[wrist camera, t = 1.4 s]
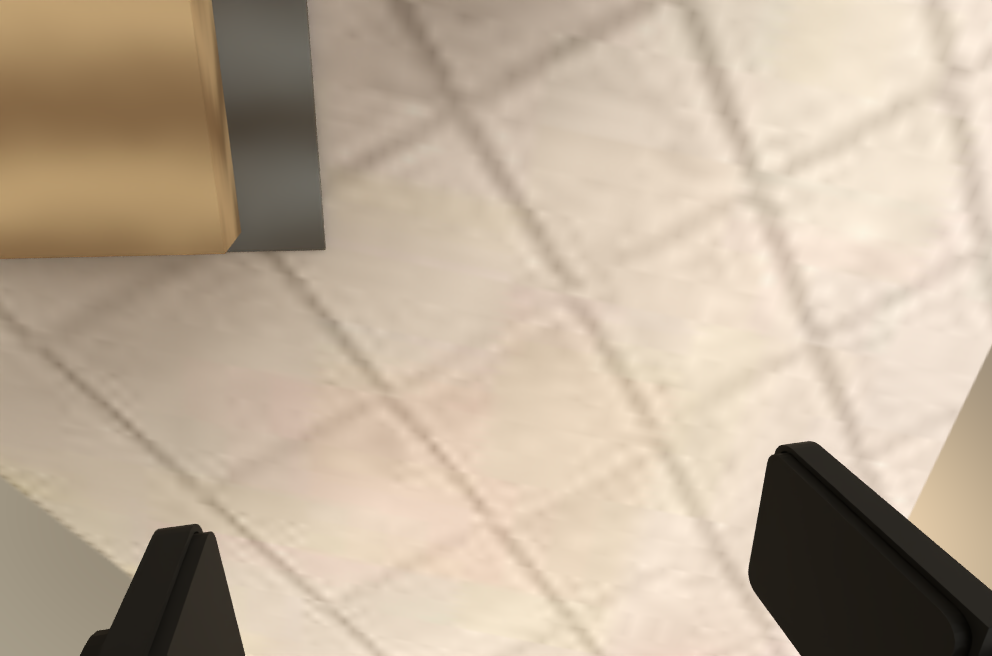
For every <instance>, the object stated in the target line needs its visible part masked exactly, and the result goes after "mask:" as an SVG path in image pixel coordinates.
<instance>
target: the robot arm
mask: <svg viewBox="0 0 992 656" xmlns="http://www.w3.org/2000/svg"><path fill="white" fill-rule="evenodd" d="M748 575H749V580H750V584H751V586H752V588H753V590H754V592H755V593H756V595H757V596H758V597H759V599H760V600H761V602H762V603H763V604H764V606H765V607H766V608H767V610H768V611H769V613H770V614H771V615H772V617H773V618H774V619H775V621H776V622H777V623H778V625H779V626H780V628H781V629H782V630H783V632H784V633H785V634H786V636H787V637H788V639H789V640H790V641H791V643H792V644H793V645H794V647H795V648H796V649H797V651H798V652H799V654H800V655H801V656H992V590H990V589H989V588H988V587H987V586H986V585H984V584H983V583H982V582H981V581H980V580H978V579H977V578H976V577H975V576H974V575H973V574H971V573H970V572H969V571H968V570H966V569H965V568H964V567H963V566H962V565H961V564H960V563H958V562H957V561H956V560H955V559H953V558H952V557H951V556H950V555H949V554H948V553H947V552H945V551H944V550H943V549H942V548H940V547H939V546H938V545H937V544H936V543H935V542H934V541H932V540H931V539H930V538H929V537H927V536H926V535H925V534H924V533H923V532H922V531H921V530H919V529H918V528H917V527H916V526H915V525H913V524H912V523H911V522H910V521H909V520H908V519H906V518H905V517H904V516H903V515H902V514H900V513H899V512H898V511H897V510H896V509H895V508H893V507H892V506H891V505H890V504H889V503H887V502H886V501H885V500H884V499H883V498H881V497H880V496H879V495H878V494H877V493H876V492H874V491H873V490H872V489H871V488H870V487H868V486H867V485H866V484H865V483H864V482H863V481H861V480H860V479H859V478H858V477H857V476H855V475H854V474H853V473H852V472H851V471H850V470H848V469H847V468H846V467H845V466H844V465H842V464H841V463H840V462H839V461H838V460H837V459H835V458H834V457H833V456H832V455H831V454H829V453H828V452H827V451H826V450H825V449H824V448H822V447H821V446H820V445H819V444H817V443H815V442H812V441H807V442H800V443H792V444H785V445H781V446H779V447H778V448H777V449H776V451H775V454H774V455H771V456H770V457H769V459H768V462H767V467H766V473H765V478H764V484H763V490H762V495H761V501H760V507H759V512H758V518H757V524H756V529H755V535H754V540H753V546H752V552H751V557H750V563H749V569H748ZM80 656H245V652H244V648H243V644H242V641H241V637H240V633H239V629H238V625H237V621H236V617H235V613H234V609H233V605H232V601H231V597H230V593H229V589H228V585H227V581H226V577H225V573H224V569H223V565H222V561H221V557H220V553H219V549H218V545H217V541H216V537H215V535H214V533H213V532H205V533H203V531H202V529H201V527H200V526H199V525H198V524H191V525H184V526H177V527H169V528H162V529H158V530H156V531H155V533H154V534H153V536H152V538H151V540H150V542H149V545H148V547H147V549H146V551H145V553H144V555H143V558H142V560H141V562H140V564H139V566H138V569H137V571H136V573H135V575H134V577H133V580H132V582H131V584H130V587H129V589H128V591H127V593H126V595H125V597H124V599H123V602H122V604H121V606H120V608H119V610H118V613H117V615H116V617H115V619H114V621H113V624H112V626H111V628H110V629H106V630H100V631H97V632H95V633H94V634H93V635H92V636H91V637H90V638H89V640H88V641H87V643H86V645H85V646H84V648H83V650H82V652H81V654H80Z"/></svg>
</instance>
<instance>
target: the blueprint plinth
mask: <svg viewBox="0 0 992 656" xmlns="http://www.w3.org/2000/svg"><path fill="white" fill-rule="evenodd" d="M325 248H326V247H325V234H324V221H323V208H322V195H321V181H320V168H319V155H318V142H317V129H316V116H315V103H314V90H313V77H312V64H311V51H310V38H309V25H308V12H307V0H0V259H15V258H60V257H105V256H151V255H196V254H225V253H226V252H249V251H296V250H325Z"/></svg>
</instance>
